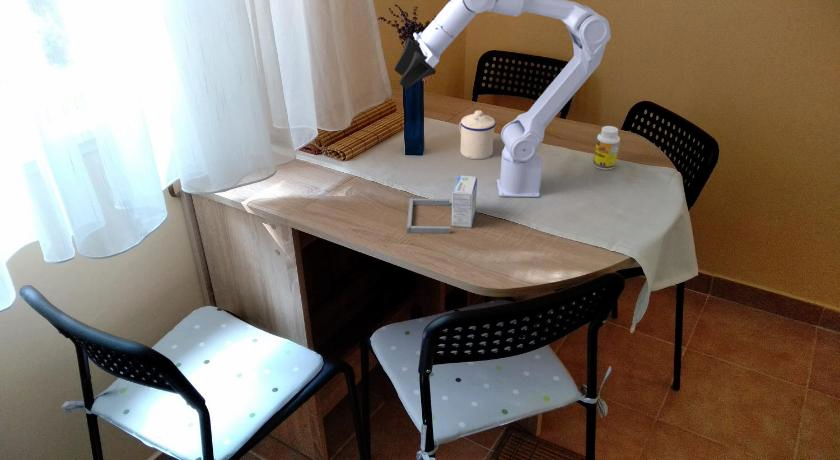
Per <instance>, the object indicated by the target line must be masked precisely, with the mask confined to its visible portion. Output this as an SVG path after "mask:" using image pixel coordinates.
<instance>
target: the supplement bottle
mask: <svg viewBox="0 0 840 460" xmlns="http://www.w3.org/2000/svg"><path fill="white" fill-rule="evenodd" d="M618 134H619V128H618V127H616V126H613V125H605V126H603V127H602V128H601V131H600V133H599V134H598V135H597V136H596V137H597V138H596V141H595V142H596V143H595V149H594V153H593V160H592V164H593V166H594V167H595V168H597V169H598V170H602V171H607V170H608V171H609V170H612V169H614V168H615V167H616V163H617V157H618V153H619V148H620V142H621V137H620V136H619V135H618Z"/></svg>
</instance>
